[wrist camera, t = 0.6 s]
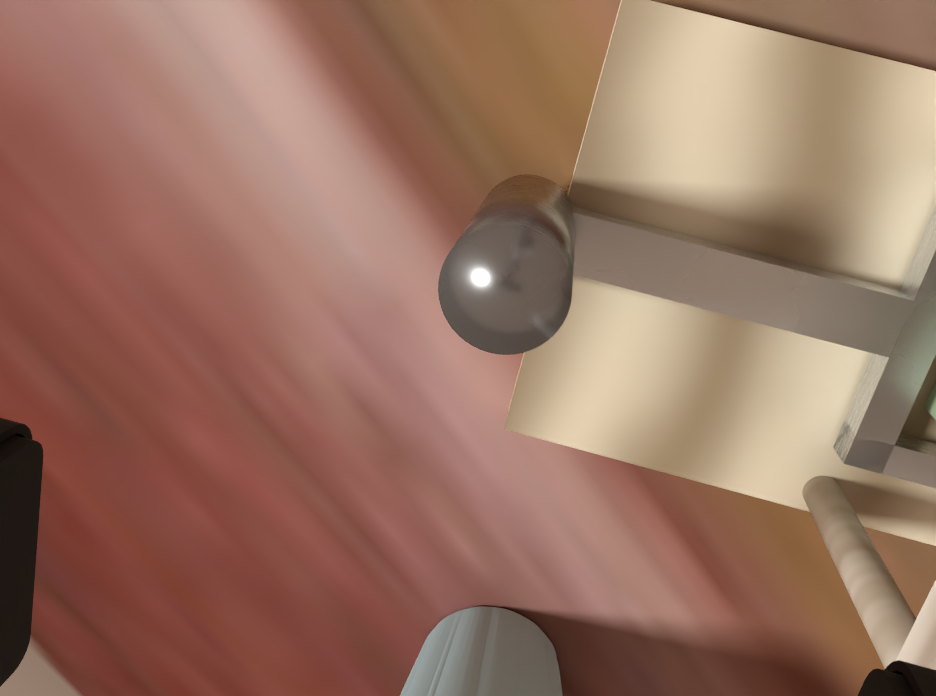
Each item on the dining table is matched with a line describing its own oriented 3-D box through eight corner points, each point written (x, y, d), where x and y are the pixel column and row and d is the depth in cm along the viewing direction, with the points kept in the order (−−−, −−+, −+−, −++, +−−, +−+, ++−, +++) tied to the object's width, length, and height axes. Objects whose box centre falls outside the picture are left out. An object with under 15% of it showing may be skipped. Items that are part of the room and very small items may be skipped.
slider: (448, 344, 29) (399, 448, 21) (516, 62, 26) (487, 69, 18) (1125, 525, 28) (1323, 701, 20) (1279, 255, 25) (1580, 346, 17)
